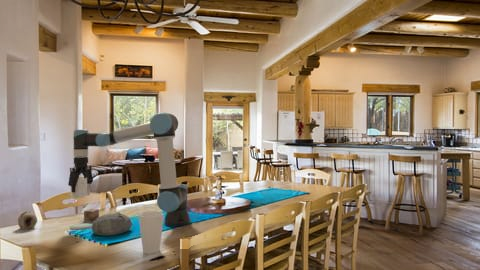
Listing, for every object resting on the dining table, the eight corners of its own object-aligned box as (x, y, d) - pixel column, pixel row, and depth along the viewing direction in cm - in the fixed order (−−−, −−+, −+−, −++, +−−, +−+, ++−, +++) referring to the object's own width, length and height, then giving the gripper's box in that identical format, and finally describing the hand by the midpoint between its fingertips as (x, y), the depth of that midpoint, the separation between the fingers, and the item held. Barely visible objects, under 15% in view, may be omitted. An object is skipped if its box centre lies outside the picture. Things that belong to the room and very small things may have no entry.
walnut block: (98, 218, 217) (98, 209, 217) (93, 221, 211) (93, 211, 211) (90, 218, 218) (89, 208, 218) (84, 220, 212) (84, 211, 212)
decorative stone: (92, 229, 194) (91, 211, 194) (131, 225, 202) (131, 208, 201) (91, 238, 178) (91, 219, 177) (133, 234, 185) (133, 215, 185)
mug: (78, 199, 192) (78, 180, 191) (67, 197, 199) (67, 178, 199) (93, 197, 198) (93, 178, 198) (82, 194, 206) (82, 176, 206)
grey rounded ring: (18, 233, 196) (12, 216, 195) (32, 226, 203) (26, 211, 203) (29, 230, 192) (22, 213, 191) (42, 223, 200) (36, 207, 199)
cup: (148, 246, 166) (148, 210, 166) (167, 248, 163) (167, 211, 163) (134, 254, 155) (134, 216, 155) (155, 256, 153) (154, 217, 152)
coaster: (97, 225, 203) (97, 224, 203) (81, 230, 192) (81, 230, 192) (81, 223, 207) (81, 222, 207) (64, 228, 196) (64, 228, 196)
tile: (105, 218, 218) (105, 218, 218) (91, 223, 208) (91, 222, 208) (91, 217, 222) (91, 217, 222) (77, 221, 211) (77, 221, 211)
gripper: (89, 155, 210) (90, 192, 210) (60, 157, 190) (60, 199, 190) (99, 155, 208) (100, 193, 208) (71, 158, 187) (71, 200, 188)
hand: (81, 196), depth 199 cm, fingers closed on mug, 9 cm apart
